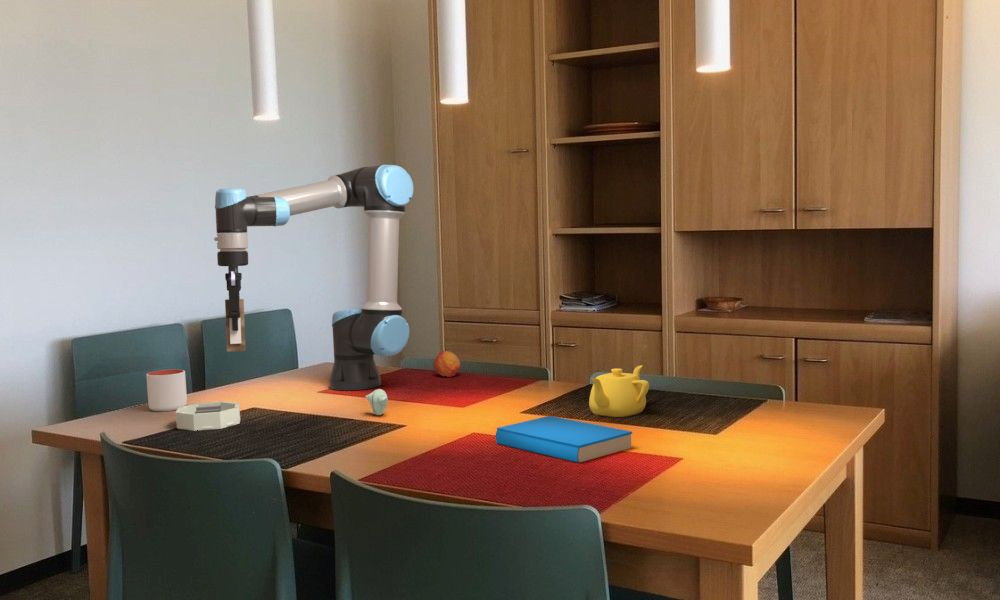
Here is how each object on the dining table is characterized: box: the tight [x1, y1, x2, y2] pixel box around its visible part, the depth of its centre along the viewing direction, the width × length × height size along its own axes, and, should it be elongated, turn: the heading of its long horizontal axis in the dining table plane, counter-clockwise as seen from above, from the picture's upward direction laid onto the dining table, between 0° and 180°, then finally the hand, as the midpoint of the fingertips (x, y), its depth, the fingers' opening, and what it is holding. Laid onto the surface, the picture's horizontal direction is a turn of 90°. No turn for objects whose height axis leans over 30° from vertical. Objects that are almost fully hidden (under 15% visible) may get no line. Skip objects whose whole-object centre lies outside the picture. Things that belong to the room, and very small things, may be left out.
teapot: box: [588, 365, 650, 418], centre depth 244 cm, size 22×16×11 cm
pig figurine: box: [365, 388, 389, 416], centre depth 250 cm, size 8×4×7 cm, turn 43°
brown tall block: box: [224, 298, 247, 352], centre depth 251 cm, size 4×2×13 cm, turn 104°
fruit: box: [433, 350, 461, 378], centre depth 305 cm, size 8×8×8 cm
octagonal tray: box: [175, 400, 241, 432], centre depth 248 cm, size 15×15×4 cm
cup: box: [145, 368, 188, 412], centre depth 269 cm, size 10×10×10 cm
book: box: [495, 415, 633, 463], centre depth 213 cm, size 17×4×25 cm
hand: (235, 342), depth 251 cm, fingers closed on brown tall block, 2 cm apart
